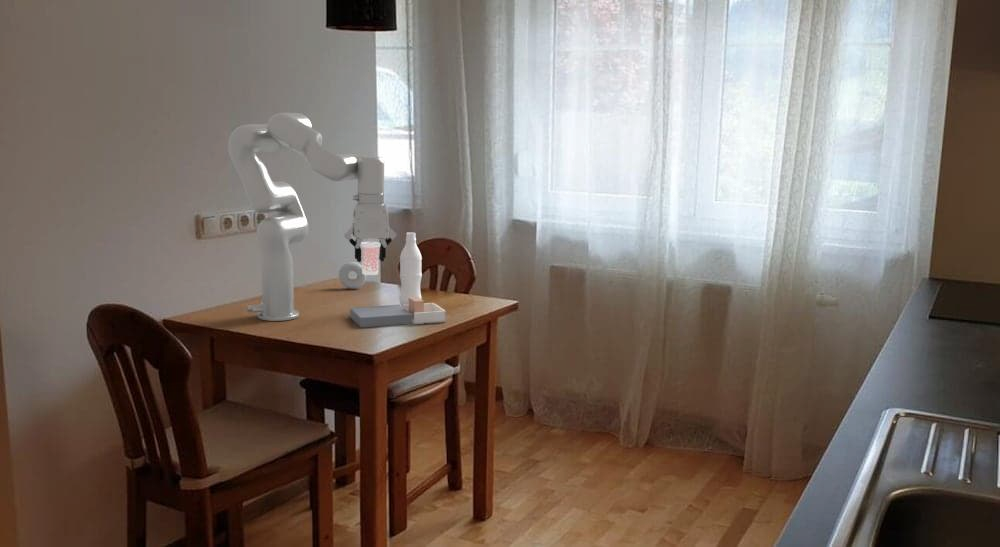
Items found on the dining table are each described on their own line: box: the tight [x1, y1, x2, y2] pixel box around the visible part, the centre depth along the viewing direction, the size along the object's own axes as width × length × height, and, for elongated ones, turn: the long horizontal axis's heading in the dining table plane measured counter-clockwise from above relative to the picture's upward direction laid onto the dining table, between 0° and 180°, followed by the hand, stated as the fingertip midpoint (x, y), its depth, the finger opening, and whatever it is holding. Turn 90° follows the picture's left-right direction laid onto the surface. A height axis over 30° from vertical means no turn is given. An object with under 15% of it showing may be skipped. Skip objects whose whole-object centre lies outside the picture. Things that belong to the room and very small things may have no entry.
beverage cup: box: [360, 239, 381, 276], centre depth 260 cm, size 6×6×14 cm
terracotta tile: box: [409, 297, 425, 320], centre depth 279 cm, size 6×6×3 cm
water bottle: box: [399, 231, 423, 307], centre depth 293 cm, size 7×7×25 cm
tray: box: [403, 302, 447, 325], centre depth 280 cm, size 10×12×4 cm
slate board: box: [349, 304, 413, 328], centre depth 277 cm, size 16×14×3 cm
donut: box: [338, 261, 368, 290], centre depth 322 cm, size 10×4×10 cm, turn 95°
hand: (370, 260), depth 261 cm, fingers closed on beverage cup, 6 cm apart
